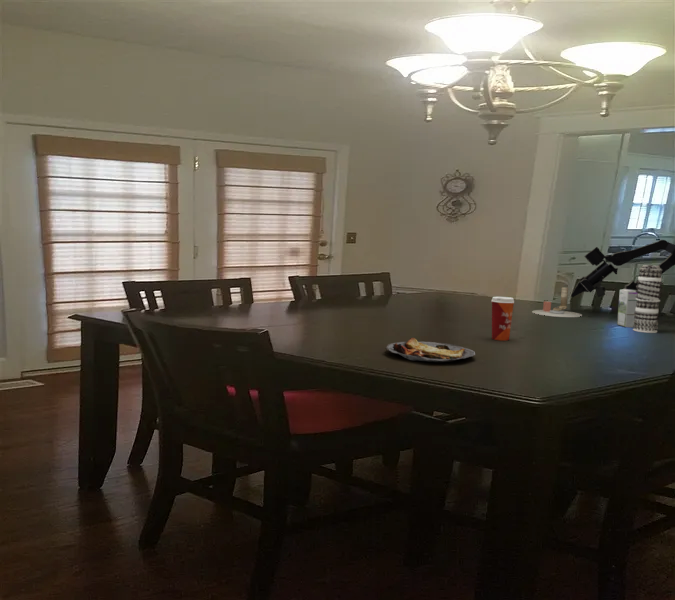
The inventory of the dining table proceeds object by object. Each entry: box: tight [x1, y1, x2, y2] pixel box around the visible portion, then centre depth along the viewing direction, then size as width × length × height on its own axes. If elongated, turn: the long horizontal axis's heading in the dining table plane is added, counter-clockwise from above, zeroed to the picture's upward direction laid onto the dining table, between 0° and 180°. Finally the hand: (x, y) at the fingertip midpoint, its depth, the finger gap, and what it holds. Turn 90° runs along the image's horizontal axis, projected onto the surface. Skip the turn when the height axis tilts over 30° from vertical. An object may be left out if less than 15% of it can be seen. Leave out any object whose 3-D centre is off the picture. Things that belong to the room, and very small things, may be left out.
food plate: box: [385, 337, 476, 363], centre depth 188 cm, size 25×23×4 cm
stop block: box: [542, 300, 552, 311], centre depth 296 cm, size 3×2×4 cm
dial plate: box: [531, 309, 583, 318], centre depth 290 cm, size 21×21×1 cm
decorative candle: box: [632, 264, 664, 334], centre depth 248 cm, size 9×9×25 cm
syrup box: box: [616, 288, 638, 328], centre depth 259 cm, size 6×6×14 cm
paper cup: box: [490, 296, 515, 342], centre depth 219 cm, size 8×8×14 cm
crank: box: [552, 286, 569, 311], centre depth 294 cm, size 12×3×9 cm, turn 145°
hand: (571, 296), depth 296 cm, fingers closed
